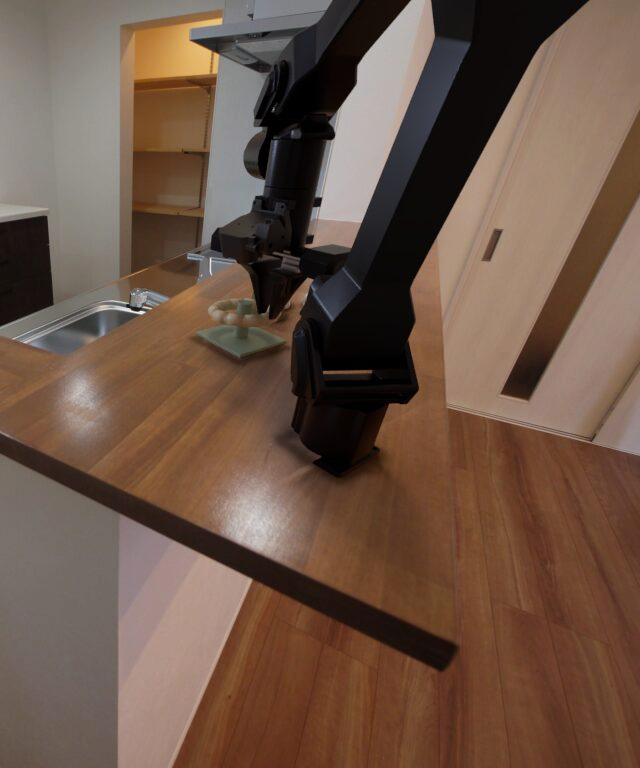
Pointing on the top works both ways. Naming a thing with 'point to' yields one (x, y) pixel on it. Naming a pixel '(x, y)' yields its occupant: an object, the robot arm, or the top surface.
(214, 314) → the ring
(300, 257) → the robot arm
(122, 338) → the top surface
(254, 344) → the green peg base
